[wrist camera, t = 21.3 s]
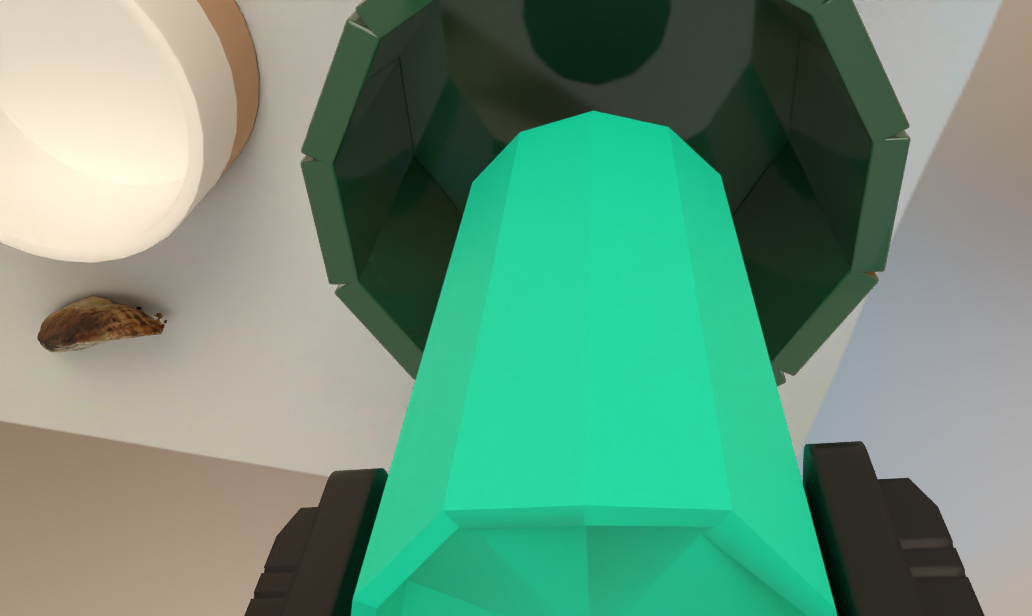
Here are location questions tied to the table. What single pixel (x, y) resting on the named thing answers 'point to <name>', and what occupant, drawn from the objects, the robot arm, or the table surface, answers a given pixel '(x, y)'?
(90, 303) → the oyster shell
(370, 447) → the table surface
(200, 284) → the table surface
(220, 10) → the bowl
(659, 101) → the pot
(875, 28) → the table surface
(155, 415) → the table surface
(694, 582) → the candle
